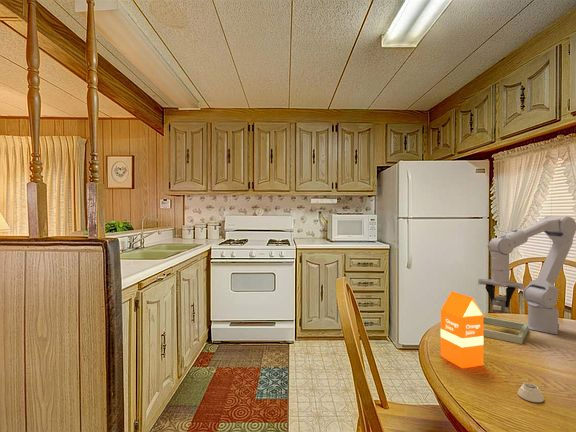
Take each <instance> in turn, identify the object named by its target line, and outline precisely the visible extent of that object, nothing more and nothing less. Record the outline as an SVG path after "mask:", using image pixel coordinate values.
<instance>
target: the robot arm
mask: <svg viewBox="0 0 576 432" xmlns="http://www.w3.org/2000/svg"><path fill="white" fill-rule="evenodd" d="M543 232H544V234H546V236H547V237H548V238H549V240H551V241H552V244H551V247H550V249H549V250H548V251H549V252H547V256H546V258H545V260H544V262H543V264H542V266H541V269H540V270H539V273H538V276H537V277H536V278H535V279H533V280H531V281H530V282H529V283H528V285H526V287H525V284H524V283H523V282H522V283H521V282H514V281H510V254H511V253H512V252H513V250H514V248H518V247H519V246H522V245H523V244H526V243H527V242H528V240H529V238H531V237H533V236H535V235H536V236H537V235H539V234H541V233H543ZM575 234H576V221H575V219H574V217H571V216H545V217H543V218H542V217H541V218H539V220H538V221H536V222H535V223H533V224H531V225H529V226H527V227H526V228H524V229H519V228H518V229H517V228H513V229H511V231H510V232H508V233H506V234H502V235H500V237H493V238H491V240H489V242H488V244H487V249H488V250H489V253H490V256H491V260H490V261H491V263H490V264H491V266H490V267H491V268H490V269H491V277H490V278H491V279H487V278H478V280H477V285H482V286H483V285H485V290H486V292H487V293H488V296H489V298H490V302H491V303H490V304H492V300H493V299H494V298H495V297H496V295H495V292H496V287H502V288H505V297H506V307H508V308H510V303H511V299H512V297H513V295H514V293H515V292H516V291H515V290H523V291H522V296H523V299H524V300H525V301H526V304H527V324H528V330H533V331H536V332H541V333H546V334H547V333H549V334H552V335H553V334H554V335H558V333H559V329H560V323H559V308H557V307H555V306H556V305H557V301H558V296H559V295H558V294H559V292H560V291H559V290H558V288H557V287H556V286H555V283H556V282H557V279H558V277H559V274H560V273H561V270H562V268H563V266H564V263H565V261H566V259H567V258H568V257H567V256H568V254H569V252H570V250H571V248H572V246H573V243H574V236H575Z"/></svg>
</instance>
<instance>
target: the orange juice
mask: <svg viewBox="0 0 576 432" xmlns="http://www.w3.org/2000/svg"><path fill="white" fill-rule="evenodd" d="M483 316H484V314H483V312H482V311H481V309H480V308H479V306H478V304H477V303H476V300H475V299H474V298H473V296H469V295H465V294H462V293H458V292H455V291H450V293H449V295H448V297H447V298H446V301H444V304H443V305H442V307H441V309H440V357H442V358H443V359H445V360H447V361H449V362H450V363H452V364H454V365H456V366H457V367H459V368H460V369H466V368H467V369H468V368H473V367H480V366H484V342H485V341H484V337H485V336H483V329H484V323H483Z"/></svg>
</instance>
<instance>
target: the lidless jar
mask: <svg viewBox="0 0 576 432" xmlns="http://www.w3.org/2000/svg"><path fill="white" fill-rule="evenodd" d="M517 395H518V396H519V397H520V398H521V399H523V400H525V401H529V402H531V403H542V402H544V400H545V398H544V395H543V393H542V392H541V390H540V388H539V387H538V385H536V384H534V383H530V382H524V383H522V385H521V386H520V388H519V389H518V390H517Z"/></svg>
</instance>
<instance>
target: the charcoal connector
mask: <svg viewBox="0 0 576 432" xmlns="http://www.w3.org/2000/svg"><path fill="white" fill-rule="evenodd" d="M508 309H509V307H506V295H505V296H503V295H495V298H494V299H493V300H492V303H491V311H492V312H494V313H497V314H505V313H506V312H507V311H508Z"/></svg>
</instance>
